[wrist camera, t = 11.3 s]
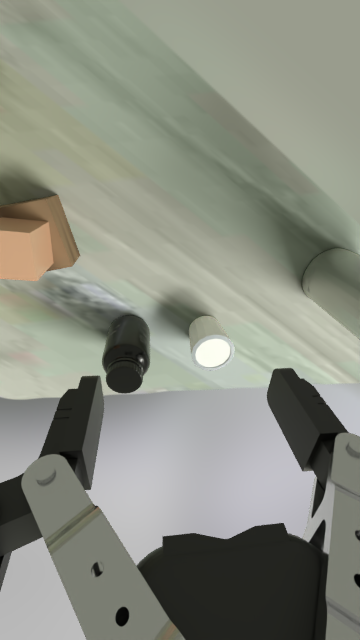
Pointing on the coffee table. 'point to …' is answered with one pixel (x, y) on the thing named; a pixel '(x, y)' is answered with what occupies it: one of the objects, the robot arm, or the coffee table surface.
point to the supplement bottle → (126, 353)
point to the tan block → (24, 249)
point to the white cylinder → (210, 344)
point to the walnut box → (58, 224)
